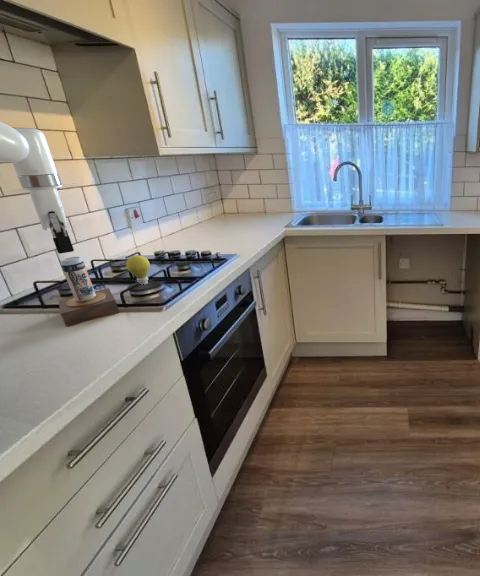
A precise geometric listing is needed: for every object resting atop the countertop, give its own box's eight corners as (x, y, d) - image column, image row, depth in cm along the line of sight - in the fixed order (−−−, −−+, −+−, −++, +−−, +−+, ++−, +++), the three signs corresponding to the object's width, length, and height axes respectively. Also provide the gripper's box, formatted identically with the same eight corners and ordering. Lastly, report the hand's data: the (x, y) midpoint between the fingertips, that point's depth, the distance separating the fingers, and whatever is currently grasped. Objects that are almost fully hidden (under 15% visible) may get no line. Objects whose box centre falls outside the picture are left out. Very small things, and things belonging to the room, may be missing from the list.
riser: (66, 326, 96) (60, 312, 95) (63, 312, 105) (57, 299, 103) (119, 312, 104) (114, 298, 102) (113, 300, 112) (108, 287, 110)
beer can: (83, 303, 100) (67, 262, 95) (71, 301, 101) (54, 261, 96) (100, 296, 104) (86, 256, 99) (89, 294, 105) (74, 255, 101)
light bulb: (159, 280, 127) (151, 253, 123) (144, 287, 121) (135, 259, 117) (143, 279, 128) (135, 252, 124) (127, 286, 122) (118, 258, 118)
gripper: (21, 181, 93) (46, 245, 100) (19, 186, 82) (47, 258, 88) (58, 179, 98) (80, 240, 105) (62, 183, 86) (86, 252, 93)
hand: (65, 248), depth 96 cm, fingers open, 9 cm apart
